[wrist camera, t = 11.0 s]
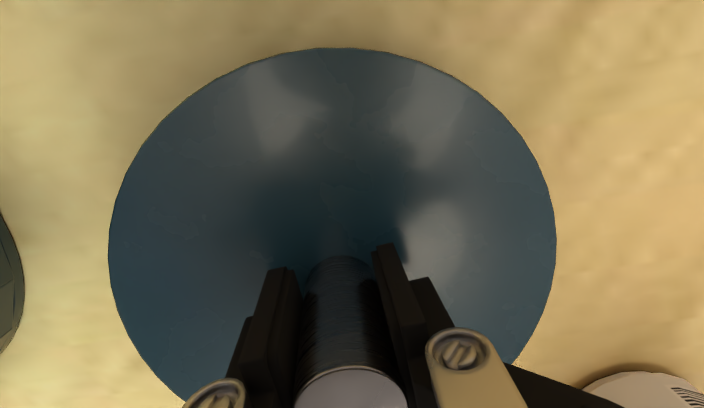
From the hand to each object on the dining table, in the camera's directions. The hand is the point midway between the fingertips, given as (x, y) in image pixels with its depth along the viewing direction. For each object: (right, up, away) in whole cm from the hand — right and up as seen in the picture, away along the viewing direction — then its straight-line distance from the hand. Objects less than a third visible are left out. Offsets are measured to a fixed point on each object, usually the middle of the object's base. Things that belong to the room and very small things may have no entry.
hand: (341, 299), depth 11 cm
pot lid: (0, 0, +1) cm, 1 cm away
